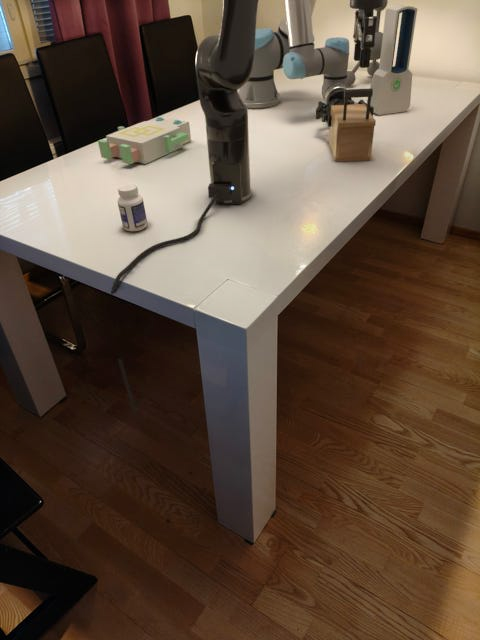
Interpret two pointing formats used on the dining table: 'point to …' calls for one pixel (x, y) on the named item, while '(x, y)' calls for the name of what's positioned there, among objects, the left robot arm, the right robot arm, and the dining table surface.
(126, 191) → the pill bottle
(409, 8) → the electronic device
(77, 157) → the dining table surface
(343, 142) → the chest
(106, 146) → the decorative block
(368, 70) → the molecular model
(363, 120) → the lid
